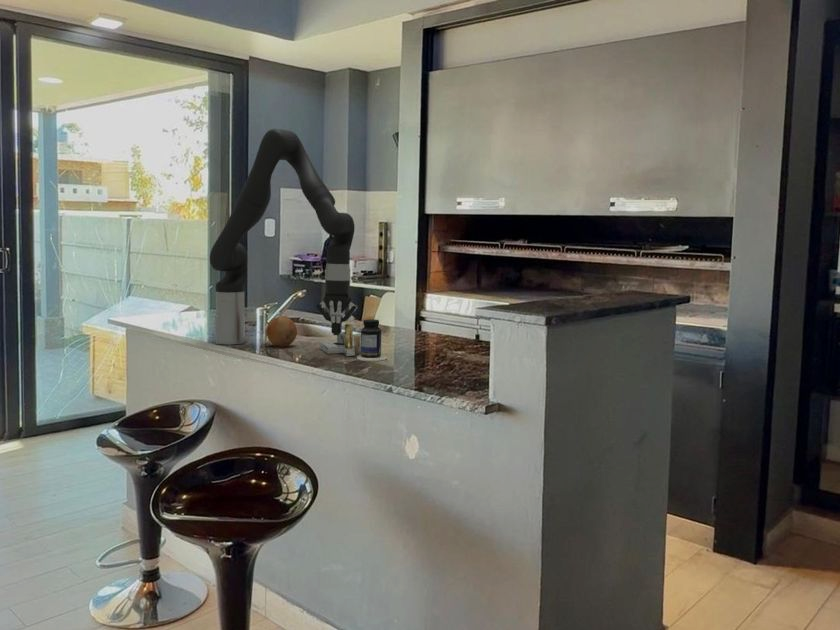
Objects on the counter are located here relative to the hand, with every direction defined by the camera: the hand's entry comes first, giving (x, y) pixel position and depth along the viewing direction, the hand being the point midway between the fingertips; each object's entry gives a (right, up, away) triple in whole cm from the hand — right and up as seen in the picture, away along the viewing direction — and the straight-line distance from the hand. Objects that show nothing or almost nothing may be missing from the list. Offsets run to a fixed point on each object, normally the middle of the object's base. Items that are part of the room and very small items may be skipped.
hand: (336, 334), depth 236 cm
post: (+1, -5, +9) cm, 10 cm away
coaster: (+11, -7, -5) cm, 14 cm away
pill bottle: (+11, -7, -5) cm, 14 cm away
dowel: (+6, -6, 0) cm, 9 cm away
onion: (-19, -4, +16) cm, 25 cm away
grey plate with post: (+2, -5, +6) cm, 8 cm away
